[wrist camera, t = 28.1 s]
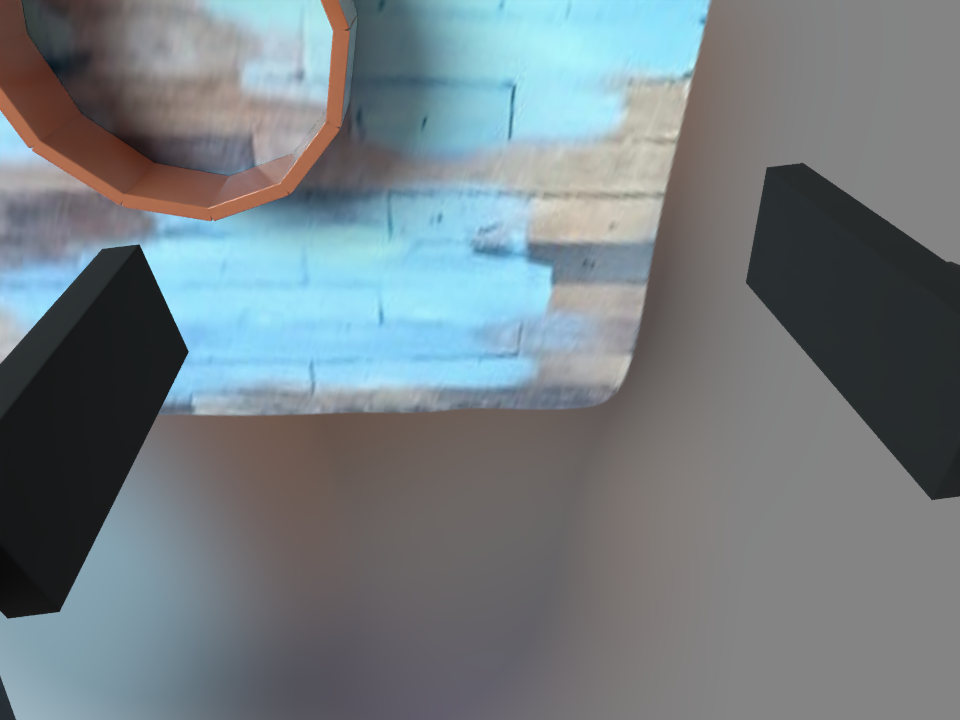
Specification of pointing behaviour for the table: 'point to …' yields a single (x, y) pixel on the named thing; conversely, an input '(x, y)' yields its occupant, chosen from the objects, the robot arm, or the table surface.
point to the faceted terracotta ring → (127, 173)
